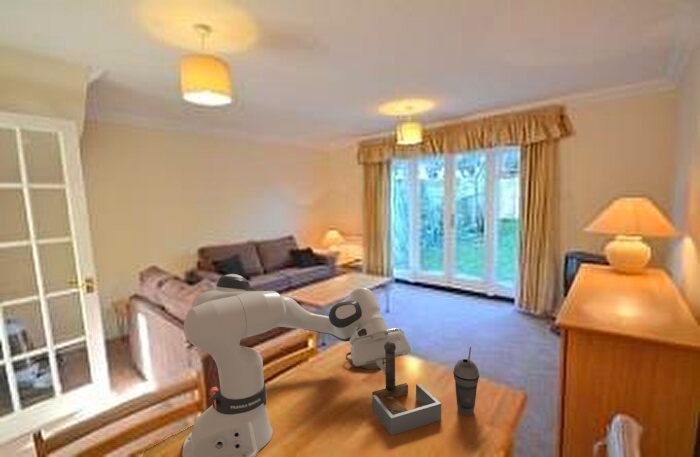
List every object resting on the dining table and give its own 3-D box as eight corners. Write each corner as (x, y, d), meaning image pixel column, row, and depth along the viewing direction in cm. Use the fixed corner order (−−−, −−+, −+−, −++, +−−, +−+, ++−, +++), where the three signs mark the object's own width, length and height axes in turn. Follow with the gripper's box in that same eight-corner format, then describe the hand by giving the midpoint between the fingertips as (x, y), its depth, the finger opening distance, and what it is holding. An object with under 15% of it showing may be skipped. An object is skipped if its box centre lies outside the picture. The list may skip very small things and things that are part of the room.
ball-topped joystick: (375, 405, 109) (375, 347, 107) (370, 398, 112) (369, 342, 110) (410, 395, 113) (409, 340, 111) (404, 389, 116) (403, 335, 114)
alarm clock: (387, 361, 130) (347, 356, 130) (385, 374, 131) (344, 368, 130) (384, 348, 142) (346, 342, 141) (382, 359, 142) (344, 354, 142)
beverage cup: (460, 400, 111) (461, 338, 108) (483, 410, 105) (484, 345, 103) (448, 411, 106) (448, 346, 103) (471, 422, 100) (472, 354, 98)
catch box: (391, 435, 96) (391, 418, 95) (372, 411, 106) (372, 395, 106) (441, 419, 102) (441, 403, 101) (418, 398, 112) (418, 383, 112)
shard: (413, 419, 103) (413, 413, 102) (390, 427, 99) (390, 421, 99) (393, 399, 112) (393, 394, 112) (371, 406, 109) (371, 401, 109)
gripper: (398, 330, 128) (412, 369, 120) (344, 341, 120) (357, 383, 112) (404, 323, 123) (420, 363, 116) (349, 333, 116) (362, 377, 108)
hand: (388, 373), depth 114 cm, fingers closed
